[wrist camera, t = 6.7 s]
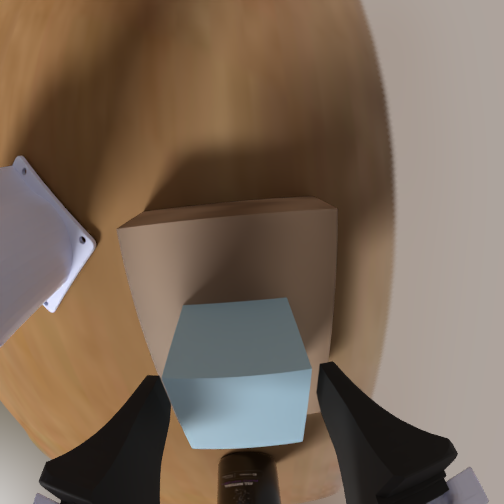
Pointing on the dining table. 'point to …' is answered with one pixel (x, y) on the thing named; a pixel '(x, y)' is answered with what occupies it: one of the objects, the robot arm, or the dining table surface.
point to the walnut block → (234, 266)
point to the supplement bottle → (248, 479)
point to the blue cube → (238, 375)
